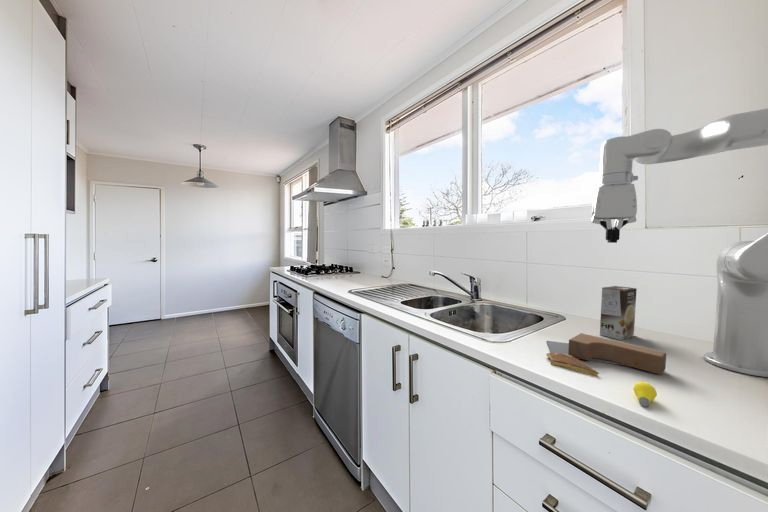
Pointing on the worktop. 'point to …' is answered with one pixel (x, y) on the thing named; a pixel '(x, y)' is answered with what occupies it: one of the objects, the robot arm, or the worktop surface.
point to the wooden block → (617, 353)
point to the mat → (564, 347)
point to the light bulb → (644, 393)
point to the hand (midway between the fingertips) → (612, 242)
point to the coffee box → (618, 312)
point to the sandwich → (570, 363)
